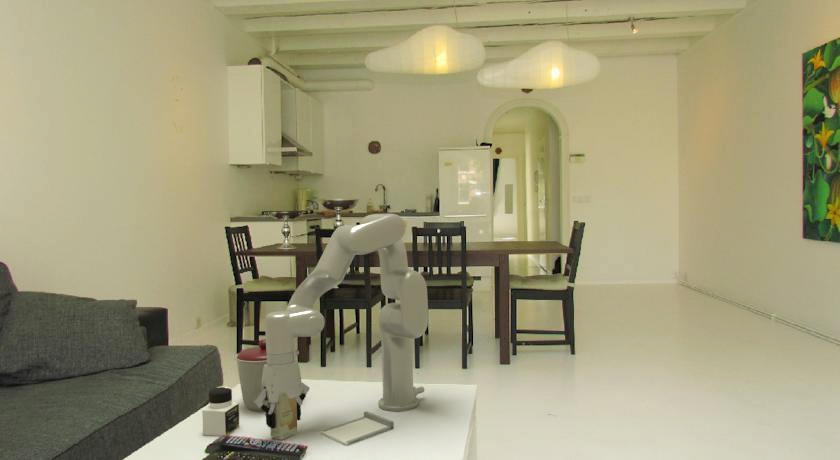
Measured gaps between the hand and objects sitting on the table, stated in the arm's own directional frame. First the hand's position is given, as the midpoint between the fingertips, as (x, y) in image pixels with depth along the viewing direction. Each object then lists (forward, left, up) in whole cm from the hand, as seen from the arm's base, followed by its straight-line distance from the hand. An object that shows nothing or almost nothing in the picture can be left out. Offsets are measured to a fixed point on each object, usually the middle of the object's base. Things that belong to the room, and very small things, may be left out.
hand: (284, 422), depth 151 cm
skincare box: (0, 0, -4) cm, 4 cm away
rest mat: (-16, +12, -4) cm, 20 cm away
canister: (-9, -26, -4) cm, 28 cm away
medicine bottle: (+10, -16, -4) cm, 20 cm away
